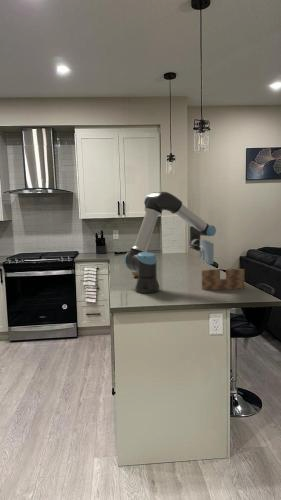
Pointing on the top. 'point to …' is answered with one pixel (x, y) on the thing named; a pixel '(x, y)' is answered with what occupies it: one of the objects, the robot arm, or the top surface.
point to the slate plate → (207, 251)
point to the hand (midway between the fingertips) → (205, 249)
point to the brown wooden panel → (231, 282)
